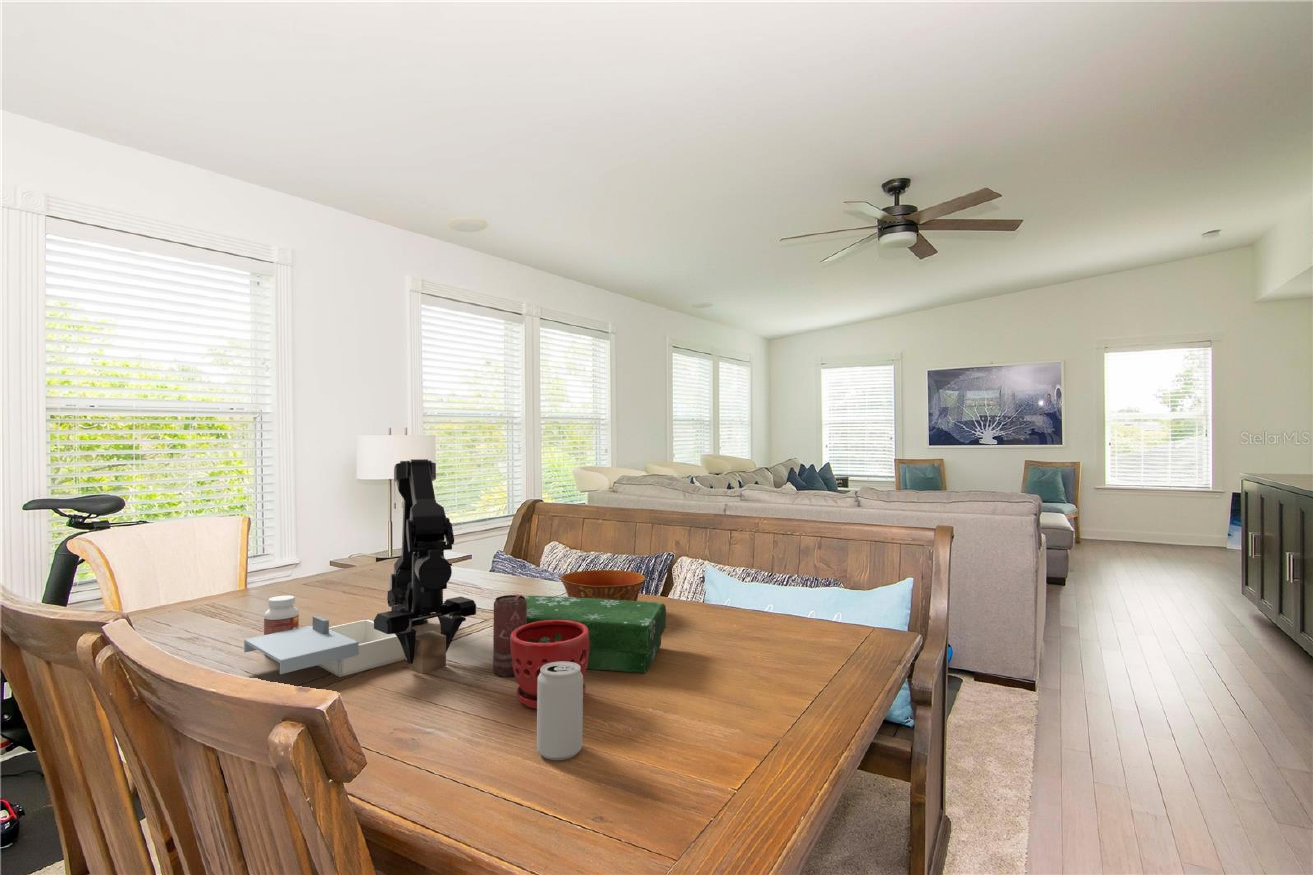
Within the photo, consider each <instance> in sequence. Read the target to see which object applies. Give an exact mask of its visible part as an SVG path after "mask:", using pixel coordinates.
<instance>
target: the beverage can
mask: <svg viewBox="0 0 1313 875" xmlns="http://www.w3.org/2000/svg"><path fill="white" fill-rule="evenodd" d="M580 670H581V667H580V665H578V664H576V663H573V662H567V661H559V662H551V663H548V664H545V665H543V666H542V667H541V669H540V672H541V673H540V674H539V676H538V687H537V709H536V712H537V713H536V749H537V753H539V754H540V755H541V756H542V757H543V758H545V759H547V760H551V761H566V760H570V759H571V758H573V757H575V756H576V755H577V753H579V752H580V751H581V750H582V748H583V730H584V729H583V719H584V716H583V715H584V714H583V712H584V702H583V701H584V695H583V682H584V678H583V674H582V673H581V671H580Z"/></svg>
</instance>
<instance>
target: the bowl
mask: <svg viewBox="0 0 1313 875" xmlns="http://www.w3.org/2000/svg"><path fill="white" fill-rule="evenodd" d="M646 580H647V577H646V576H645V575H643V574H642V573H639V572H636V571H630V570H620V569H619V570H617V569H615V570H614V569H594V570H593V569H592V570H581V571H574V572H572V571H571V572H568V573H565V574H563V575H561V576H560V581H561V583H562V585H563V586H564V589H565V592H566V595H567V597H573V598H592V599H610V600H626V601H638V598H639V594H640V592H641V589H642V587H643V585H644V584H645V583H646Z"/></svg>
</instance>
